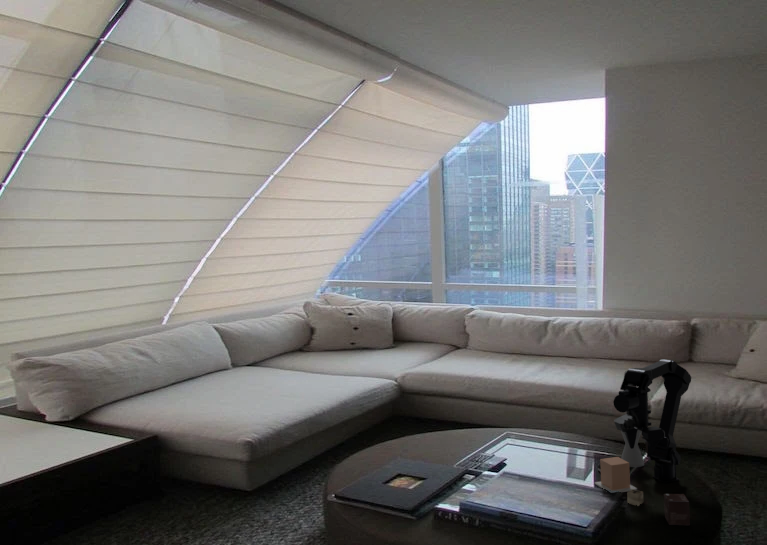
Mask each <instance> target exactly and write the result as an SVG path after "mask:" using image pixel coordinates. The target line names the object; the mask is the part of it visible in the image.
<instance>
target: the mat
mask: <svg viewBox="0 0 767 545" xmlns="http://www.w3.org/2000/svg"><path fill="white" fill-rule="evenodd" d="M593 483H594V485H595V486H598V488H600V489H602V488H603V490H604V489H606V490H611V489H610V488H608V487H606V486H605V485H603V484H601V480H600V481H595V482H593ZM632 489H633V490H638V487H636V486H634V485H633V484H630V488H623V489H617V490H611V491H619V492H621V493H625V492H629V491H630V490H632Z"/></svg>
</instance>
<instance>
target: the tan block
mask: <svg viewBox="0 0 767 545" xmlns="http://www.w3.org/2000/svg"><path fill="white" fill-rule="evenodd" d="M599 461H600V464H599V465H600V466H601V472H600V481H601V484H603V485H605V486H606V487H608V488H610V489H611V490H617V489H623V488H630V485H631V474H630V472H631V471H630V469H631V467H629V462H627V461H625V460H623V459H621V457H619V456H613V457H606V458H605V457H604V458H600V460H599Z"/></svg>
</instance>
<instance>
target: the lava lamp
mask: <svg viewBox="0 0 767 545" xmlns="http://www.w3.org/2000/svg"><path fill="white" fill-rule="evenodd" d="M626 372H627V370H626V371H625V372H624V375H623V378H624V377H625V374H626ZM628 386H630V385H628ZM633 387H636V386H633ZM620 433H621V435H622V438H623V440H624V443H625V444H624V447H623V451H622V454H621V457H620V458H621V459H623V460H625V461H627V462H629V468H641V467H643V466H645V462H644V459H643V457H642V453H641V449H640V447H639V440H640V438H641V435H642V431H640V430H637V435H636V440H635V445H634V448H633V449H631V448H630V446H629V443H628V440H627V438H626V435H625V433H624V432H622V431H620Z"/></svg>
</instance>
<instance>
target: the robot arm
mask: <svg viewBox="0 0 767 545" xmlns="http://www.w3.org/2000/svg"><path fill="white" fill-rule="evenodd" d="M626 371H627V372H626V374H625V373H624V374H625V377H624V376H623V380H622V382H621V385H620V387H619V389H620V390H618V394H617V395H616V396H615V397H614V398H613V402H612V403H613V407H614V408H615V409H616V411H618V412H619V413H623V415H621V416H618V417H617V418H615V419H614V420H613V423H614V425H615V427H616V430H618V431H620V432H621V431H622V432H624V433H625V435H626V438H627V440H628V443H629V446H630V448H631V449H633V448H634V445H635V440H636V435H637V430H640V431H642V432H641V435H642V437H641V439H642V440H643V441H644V442H645V451H646V457H648V458H650V460H651V461H653V462H654V466H653V473H654V474H653V475H652V478H654V479H656V480H658V481H659V482H662V483H663V484H664V483H666V484H667V483H671V482H677V481H680V478H678V477H677V466H678V465H680V463H681V460H682V459H681V458H682V456H681V455H680V454H679V452H678V451H677V443H676V441H675V437H674V434H675V433H674V432H675V428H676V422H677V418H678V414H679V410H680V404H681V400H682V396H683V395H684V394H685V393H686V392H687V391H688V390H689V386H690V384H691V383H692V376H691V374H690V373H689V372H688V370H687V369H686V368H684V367H682V366H681V365H679V364H678V363H677V362H676V361H675V360H673V359H666V358H665V359H664V358H663V359H659V361H657V362H656V361H655V362H653V363H652V364H650V365H647V366H645V367H632V368H628V369H627V370H626ZM660 377H661V378H662V379H663V386H664V388H665V389H664V390H665V391H666V393H665V397H664V398H665V399H664V402H663V407H662V412H661V418H660V421H659V426H652V422H651V421H649V415H650V414H652V409H649V396H648V395H649V394H648V393H650V392H651V390H652V389H651V388H650V385H652V384H653V380H655V379H658V378H660ZM628 385H630V386H628ZM633 386H636V387H633ZM624 413H625V414H624Z"/></svg>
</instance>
